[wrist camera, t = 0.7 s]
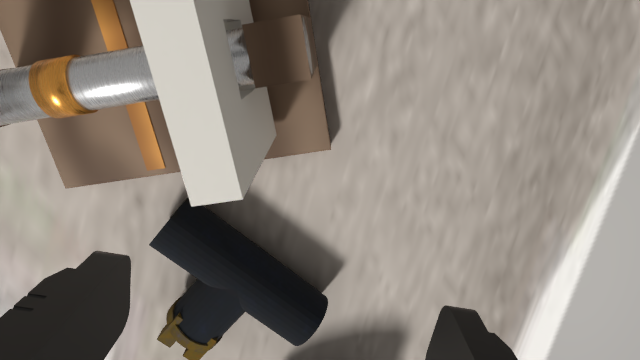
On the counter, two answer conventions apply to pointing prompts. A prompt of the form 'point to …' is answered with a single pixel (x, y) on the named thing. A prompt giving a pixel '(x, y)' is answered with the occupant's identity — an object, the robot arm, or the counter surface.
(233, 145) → the white flat block
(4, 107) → the steel pipe
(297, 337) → the pipe connector
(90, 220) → the counter surface
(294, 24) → the pipe stand
